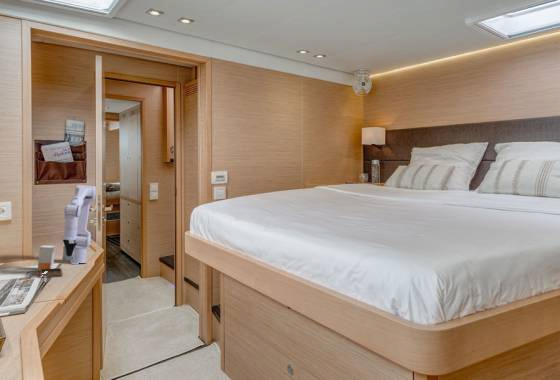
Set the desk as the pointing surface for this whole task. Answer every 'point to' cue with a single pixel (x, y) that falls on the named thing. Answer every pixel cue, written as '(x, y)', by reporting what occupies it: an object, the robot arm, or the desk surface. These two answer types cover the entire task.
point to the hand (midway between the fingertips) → (68, 254)
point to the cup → (66, 255)
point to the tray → (52, 272)
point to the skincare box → (46, 257)
